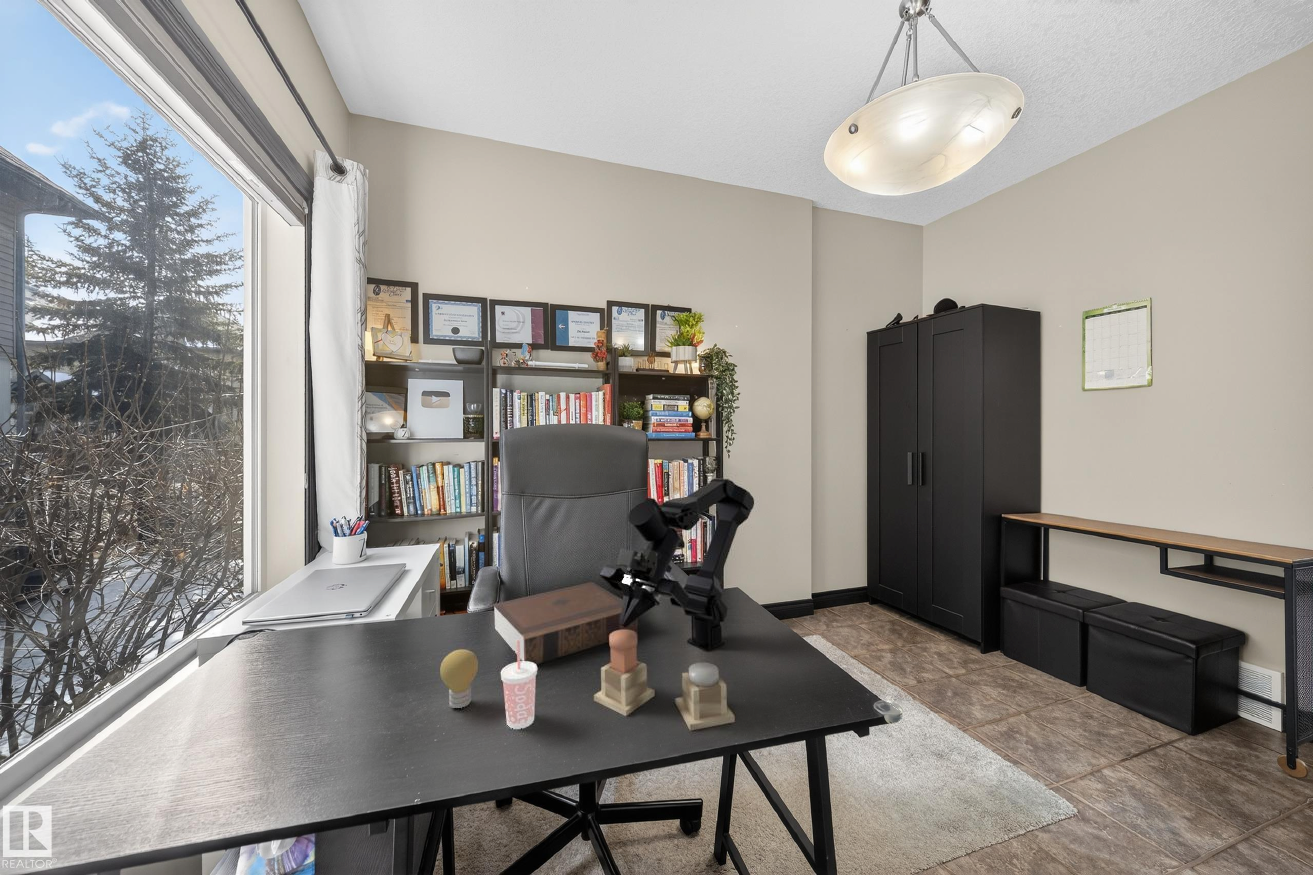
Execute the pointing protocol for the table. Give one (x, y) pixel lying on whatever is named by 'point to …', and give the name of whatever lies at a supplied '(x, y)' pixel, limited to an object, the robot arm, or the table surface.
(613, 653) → the terracotta plunger
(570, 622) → the book
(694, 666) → the light grey rounded piece
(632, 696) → the cream square holder
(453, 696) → the light bulb
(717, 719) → the beige square socket
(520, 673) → the beverage cup
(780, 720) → the table surface
